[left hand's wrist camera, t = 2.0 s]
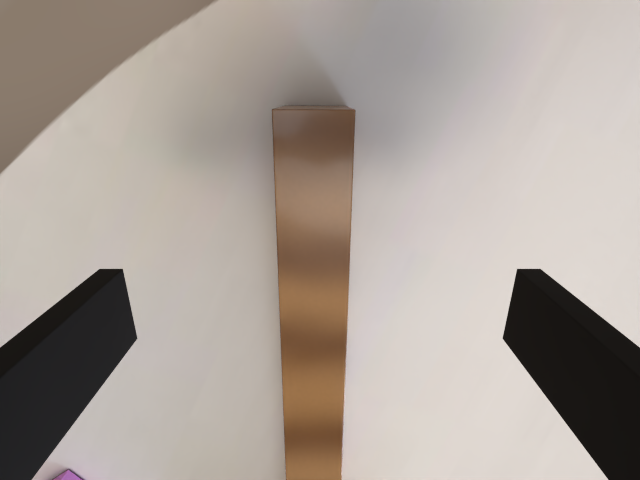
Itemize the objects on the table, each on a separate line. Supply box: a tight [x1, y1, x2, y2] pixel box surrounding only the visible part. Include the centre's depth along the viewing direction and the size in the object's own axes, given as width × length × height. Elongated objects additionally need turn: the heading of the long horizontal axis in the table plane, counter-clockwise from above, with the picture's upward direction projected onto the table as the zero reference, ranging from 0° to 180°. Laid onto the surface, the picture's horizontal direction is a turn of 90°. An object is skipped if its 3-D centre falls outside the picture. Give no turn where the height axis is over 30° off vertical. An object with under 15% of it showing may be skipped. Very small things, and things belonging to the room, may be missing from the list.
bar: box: [272, 106, 355, 480], centre depth 38 cm, size 57×5×8 cm, turn 0°
